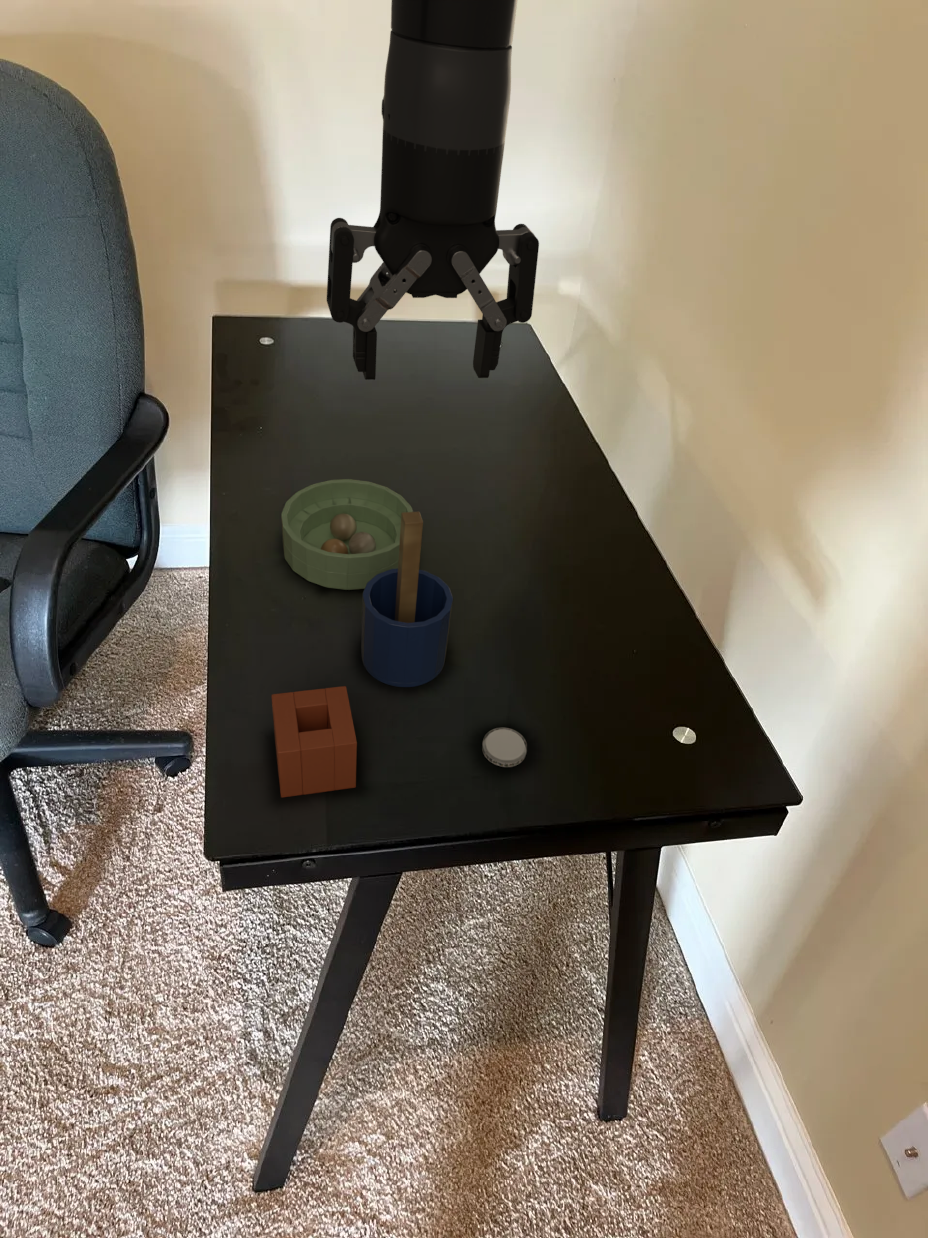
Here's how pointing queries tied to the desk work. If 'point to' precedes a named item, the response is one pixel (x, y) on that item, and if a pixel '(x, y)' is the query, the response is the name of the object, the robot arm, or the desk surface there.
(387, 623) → the crock
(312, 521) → the bowl
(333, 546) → the bead
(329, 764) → the holder
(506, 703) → the desk surface
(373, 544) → the bead
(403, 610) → the stick
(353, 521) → the bead
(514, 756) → the grey bottle cap
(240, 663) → the desk surface
